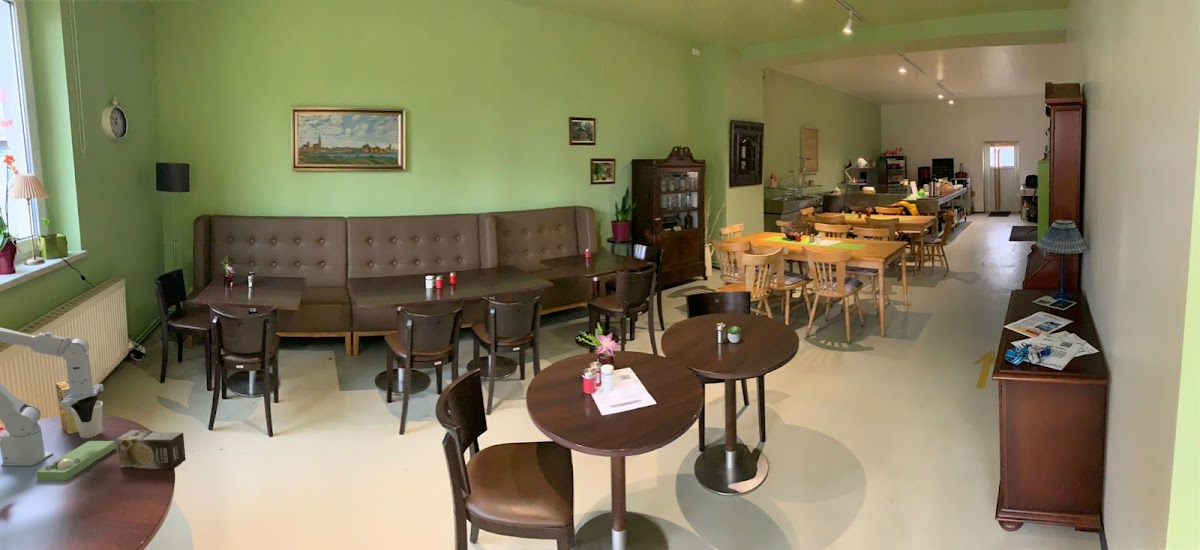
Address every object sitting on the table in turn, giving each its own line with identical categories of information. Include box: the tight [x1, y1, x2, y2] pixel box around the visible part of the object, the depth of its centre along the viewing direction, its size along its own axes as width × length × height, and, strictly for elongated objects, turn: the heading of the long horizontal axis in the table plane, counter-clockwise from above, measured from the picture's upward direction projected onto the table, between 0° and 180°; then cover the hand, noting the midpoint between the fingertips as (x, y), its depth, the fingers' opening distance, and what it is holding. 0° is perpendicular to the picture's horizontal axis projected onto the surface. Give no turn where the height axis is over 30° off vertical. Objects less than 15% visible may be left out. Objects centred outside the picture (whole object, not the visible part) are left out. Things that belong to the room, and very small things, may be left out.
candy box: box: [55, 380, 79, 435], centre depth 223 cm, size 9×4×15 cm, turn 50°
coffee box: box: [116, 429, 187, 471], centre depth 201 cm, size 9×6×16 cm
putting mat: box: [35, 440, 117, 481], centre depth 201 cm, size 8×20×2 cm, turn 0°
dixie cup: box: [71, 400, 104, 439], centre depth 220 cm, size 8×8×10 cm
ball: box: [57, 459, 75, 469], centre depth 196 cm, size 4×4×4 cm
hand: (86, 421), depth 208 cm, fingers closed
